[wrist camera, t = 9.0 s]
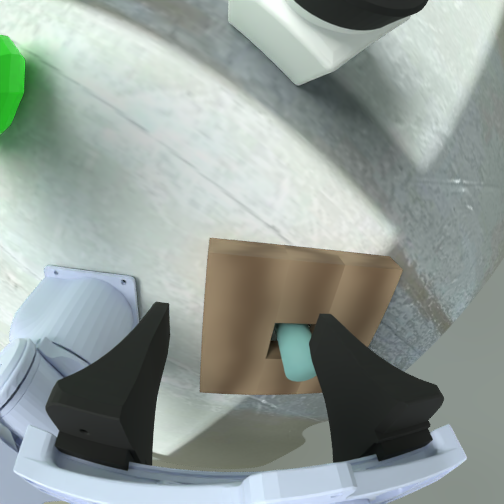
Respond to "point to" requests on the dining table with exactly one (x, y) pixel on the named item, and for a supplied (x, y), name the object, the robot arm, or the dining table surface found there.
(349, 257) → the socket board
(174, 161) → the dining table surface
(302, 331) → the peg
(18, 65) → the plastic bottle
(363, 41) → the medicine bottle
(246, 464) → the dining table surface
